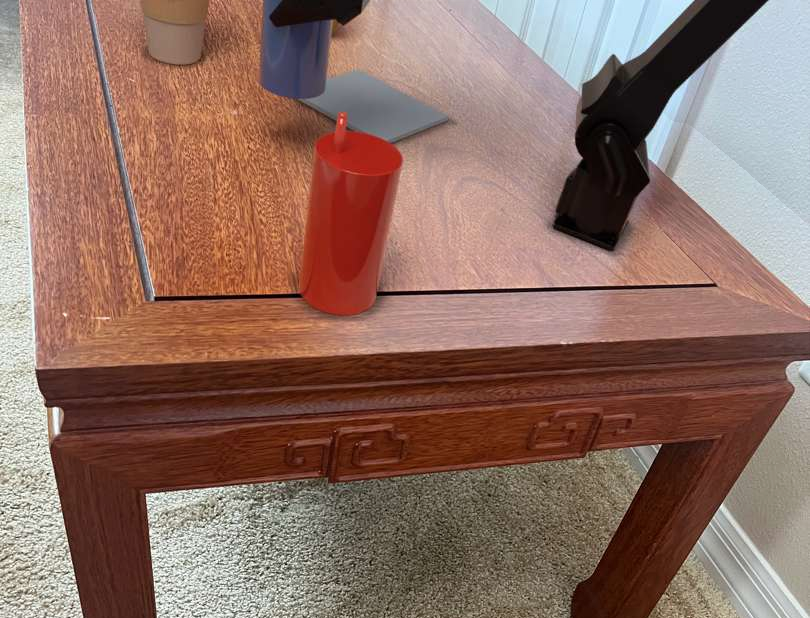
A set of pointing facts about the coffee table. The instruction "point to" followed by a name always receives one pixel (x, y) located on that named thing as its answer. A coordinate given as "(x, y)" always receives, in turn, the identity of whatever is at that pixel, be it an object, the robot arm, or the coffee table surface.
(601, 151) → the robot arm
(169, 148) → the coffee table surface
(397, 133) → the gray mat
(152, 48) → the coffee cup
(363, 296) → the red cylinder
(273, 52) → the blue cylinder
